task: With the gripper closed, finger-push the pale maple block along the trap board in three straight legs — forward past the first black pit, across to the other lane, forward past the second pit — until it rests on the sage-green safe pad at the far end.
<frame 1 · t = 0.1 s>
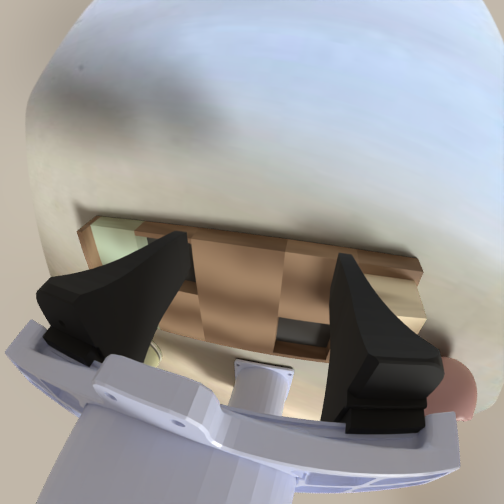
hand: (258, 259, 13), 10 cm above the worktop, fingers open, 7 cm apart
trap board: (242, 292, 28), on the worktop
block: (380, 299, 22), point 2 cm above the worktop, touching trap board
pink mushroom: (426, 364, 29), on the worktop
coffee can: (135, 342, 41), on the worktop
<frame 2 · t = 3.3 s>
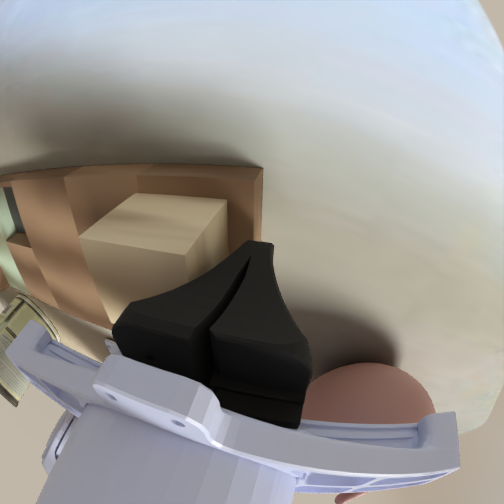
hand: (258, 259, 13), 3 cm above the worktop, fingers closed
trap board: (72, 246, 20), on the worktop
block: (182, 240, 14), point 2 cm above the worktop, touching gripper, trap board
pink mushroom: (359, 372, 21), on the worktop
coffee can: (38, 318, 32), on the worktop
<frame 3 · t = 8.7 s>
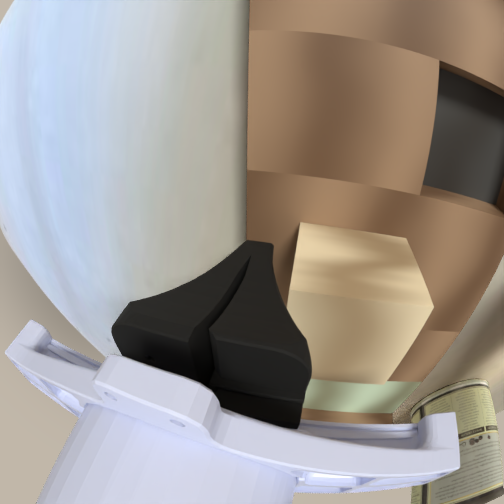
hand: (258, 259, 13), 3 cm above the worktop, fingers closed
trap board: (380, 247, 14), on the worktop
block: (344, 274, 13), point 2 cm above the worktop, touching gripper
coffee can: (450, 400, 21), on the worktop
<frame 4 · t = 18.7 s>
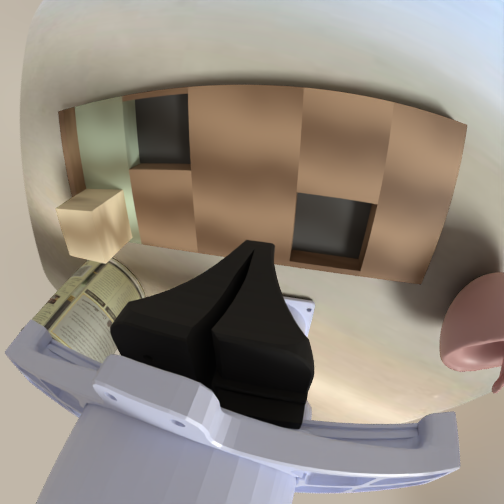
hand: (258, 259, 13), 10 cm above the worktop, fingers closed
trap board: (248, 172, 21), on the worktop
block: (108, 212, 24), point 2 cm above the worktop, touching trap board
pink mushroom: (474, 294, 22), on the worktop
coffee can: (115, 285, 34), on the worktop
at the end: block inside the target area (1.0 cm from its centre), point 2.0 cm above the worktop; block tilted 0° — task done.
